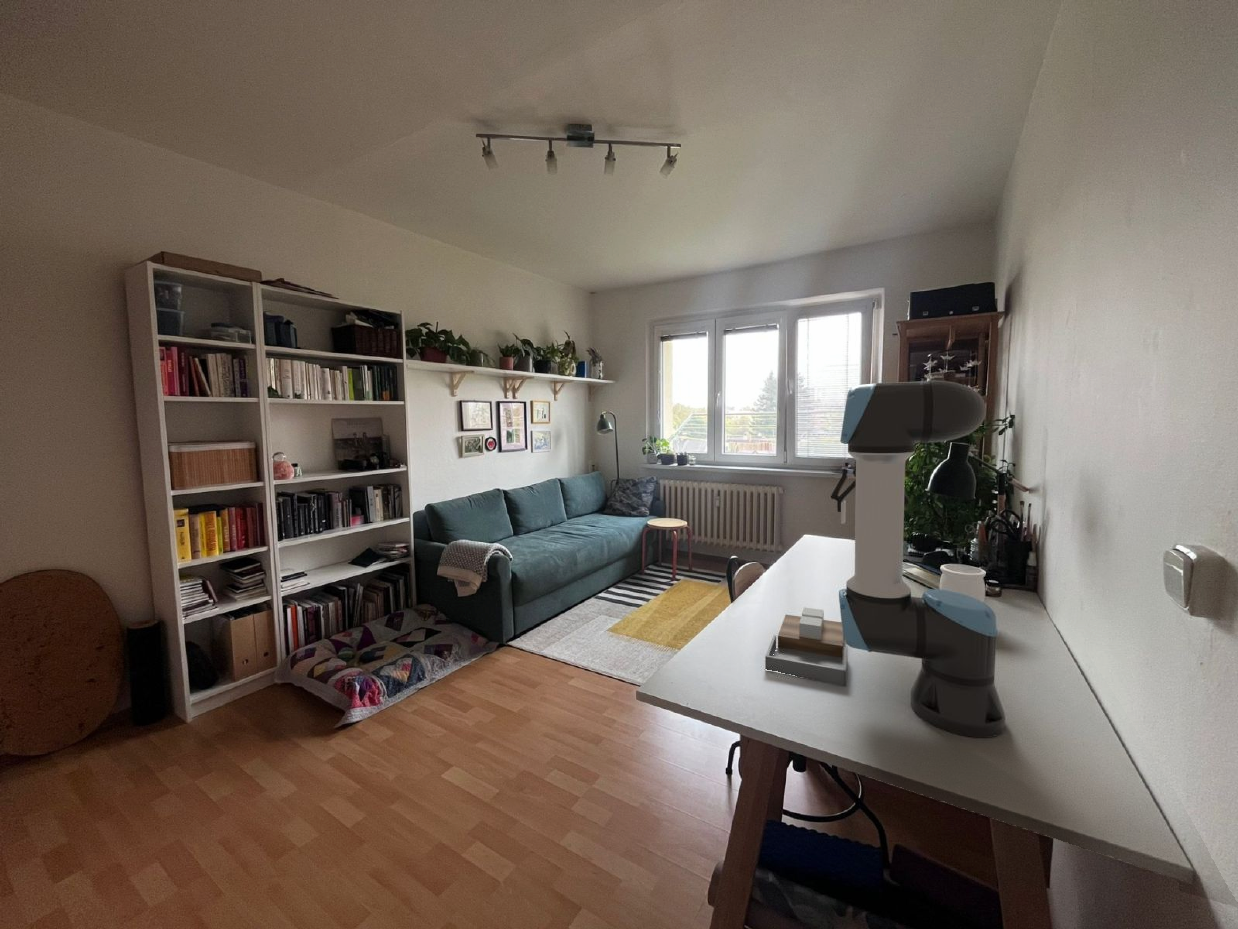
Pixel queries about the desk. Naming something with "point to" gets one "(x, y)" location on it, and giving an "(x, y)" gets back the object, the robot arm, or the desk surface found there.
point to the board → (826, 646)
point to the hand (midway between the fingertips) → (868, 525)
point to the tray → (807, 664)
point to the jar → (963, 580)
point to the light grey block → (810, 627)
